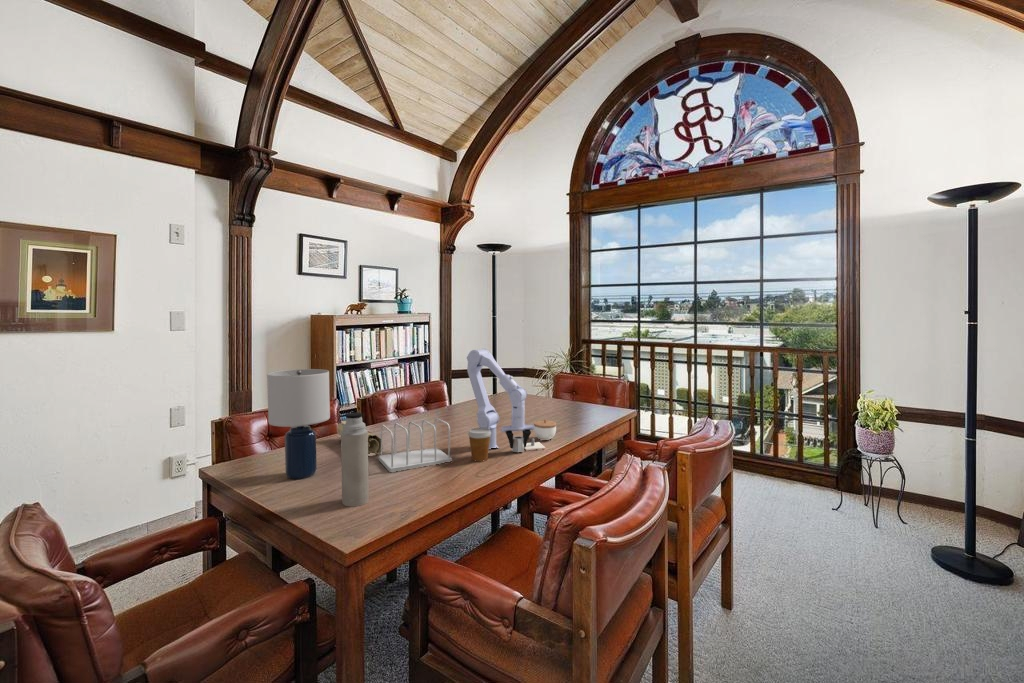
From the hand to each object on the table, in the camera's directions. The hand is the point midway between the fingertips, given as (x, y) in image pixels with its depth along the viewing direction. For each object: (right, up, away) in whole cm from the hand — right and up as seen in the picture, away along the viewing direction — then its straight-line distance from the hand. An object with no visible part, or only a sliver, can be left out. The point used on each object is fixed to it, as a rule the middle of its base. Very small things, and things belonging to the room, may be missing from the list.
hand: (517, 447), depth 195 cm
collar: (0, -2, 0) cm, 2 cm away
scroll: (-71, -2, +6) cm, 72 cm away
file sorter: (-42, -3, -13) cm, 44 cm away
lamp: (-80, -4, -29) cm, 85 cm away
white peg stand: (+7, -2, +6) cm, 9 cm away
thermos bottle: (-52, -5, -52) cm, 74 cm away
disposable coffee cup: (-16, -3, -10) cm, 19 cm away
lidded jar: (+13, -1, +20) cm, 24 cm away
